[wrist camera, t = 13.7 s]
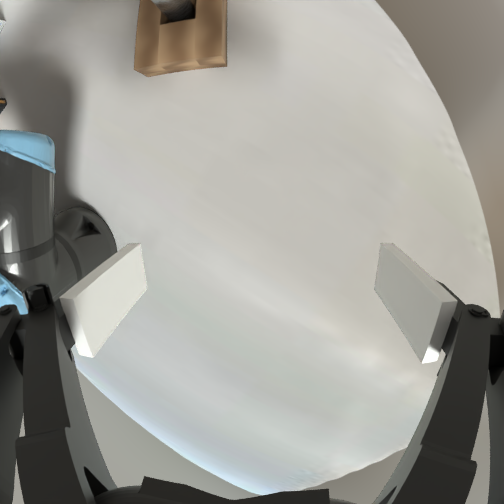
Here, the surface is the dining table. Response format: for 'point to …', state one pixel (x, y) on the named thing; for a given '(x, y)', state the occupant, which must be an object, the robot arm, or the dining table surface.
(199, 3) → the bore block
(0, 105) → the ammunition clip
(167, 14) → the pin
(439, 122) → the dining table surface
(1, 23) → the light bulb box
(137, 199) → the dining table surface
